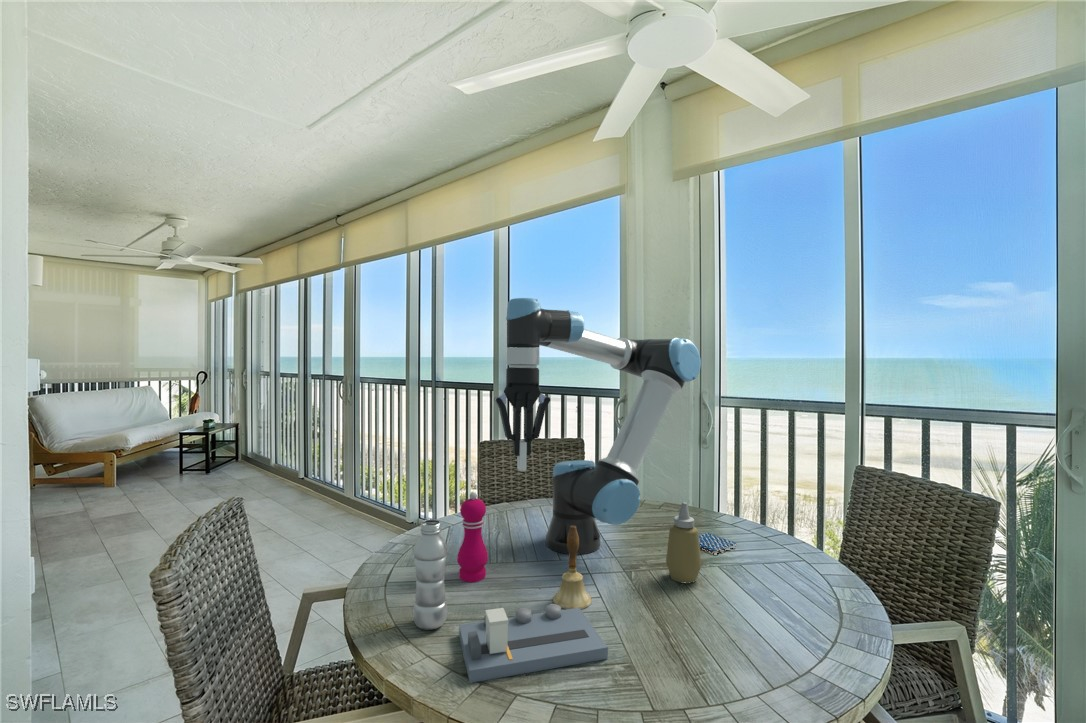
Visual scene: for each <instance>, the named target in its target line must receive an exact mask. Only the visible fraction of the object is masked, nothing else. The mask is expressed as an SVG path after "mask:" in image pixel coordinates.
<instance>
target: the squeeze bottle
mask: <svg viewBox="0 0 1086 723" xmlns="http://www.w3.org/2000/svg"><path fill="white" fill-rule="evenodd" d="M689 512H690V511H689V506H688V502H685V501H684V502H681V505H680V509H679V513H678V515H675V516H674V518H673V525H671V526H670V527H669V533H668V539H667V540H668V541H667V542H668V543H667V550H666V557H665V559H666V560H665V562H666V566H667V569H668V572H669V576H670V578H671V579H672V580H673V579H674V580H673V581H675V580H676V581H675V582H677V581H678V582H677V583H680V582H686V583H685V584H690V583H689V582H693V581H695V580H696V581H697V578H698V577H699V574H700V571H701V568H702V560H701V559H702V558H701V549H700V545H699V535H700V534H699V530H698V529H697V527H695V519H694V518H693V517H692V516H690V513H689ZM696 581H695V582H696ZM693 583H694V582H693Z"/></svg>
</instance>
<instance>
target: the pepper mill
mask: <svg viewBox="0 0 1086 723" xmlns="http://www.w3.org/2000/svg"><path fill="white" fill-rule="evenodd" d="M486 507H487V506H486V504H485V502H484V501H483V500H482V499H479V498H478V494H477V493H476V492H474V491H473V492H470V494H469V498H468V499H466V500H464V501H463V502H462V503H461V506H460V513H459V514H460V515H461V517H462V518H463V519H462V527H463V529H464V530H463V531H464V533H463V540H462V543H461V546H460V548H458V553H457V558H456V560H457V564H458V565H459V566H460V568H459V572H458V574H459V579H460V580H461V581H463V582H465V583H476V582H481V581H483V580H485V578H486V576H487V568H486V566H485V565H486V564H487V563H488V561H489V553H488V550H487V547H486V545H485V542H484V539H483V534H482V530H483V526H484V521H485V520H484V516H485V514H486V513H487V508H486Z"/></svg>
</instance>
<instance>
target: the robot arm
mask: <svg viewBox="0 0 1086 723" xmlns="http://www.w3.org/2000/svg"><path fill="white" fill-rule="evenodd" d="M505 320H506V361H505V362H506V365H507V366H508V367H507V368H506V372H505V373H506V374H505V376H506V377H505V378H506V380H505V388H504V390H503V393H501V394H500V395H499V396H495V397H494V402H495V404H496V406H497V407H498V409H499V410H498V412H499V415H500V420H501V424H502V428H503V432H504V435H505V436H504V437H505V438H506V439H507V440H509V441H512V443H513V444H512V453H513V456H514V457H516V458H517V461H516V462H517V464H516V468H517V470H518V471H519V472H526V471H527V457H528V456H530V455H531V454H532V453H531V452H532V442H533V441H534V440H535V439H539V438H540V434H541V430H542V425H543V421H544V417H545V413H546V409H547V406H548V405H549V403H550V402H551V398H550V397H549V396H546V395H545V394H543V393H542V390H541V388H540V369H539V367H537V366H539V365H540V346H542V347H545V348H546V347H547V348H549V349H553V350H557V351H562V352H565V353H568V354H572V355H576V356H579V357H583V358H587V359H590V360H594V361H598V362H601V363H605V364H609V365H610V367H611V368H612V369H615V370H618V371H621V372H624V373H628V374H631V375H634V376H636V377H639V378H642V380H643V382H642V384H641V386H640V388H639V390H638V392H637V395H636V396H635V399H634V401H633V403H632V405H631V407H630V408H629V411H628V413H627V415H626V417H625V419H624V421H623V423H622V425H621V427H620V430H619V432H618V433H617V436H616V437H615V439H614V442H613V443H612V446H611V448H610V450H609V452H608V454H607V455H606V457H604V458H601V459H598V461H597V463H596V464H595V462H594V461H593V460H585V459H584V460H583V459H579V460H566V461H565V460H564V461H561V462H560V461H559V462H557V463H555V465H553V470H552V477H551V478H552V516H551V520H550V523H549V526H548V529H547V532H546V535H545V536H546V537H545V540H546V541H545V545H546V546H547V547H548V548H549V549H551V550H552V551H554V552H558V553H560V554H561V553H563V554H568V555H569V552H568V548H567V536H568V533H569V530H570V526H576V529H577V532H578V536H579V547H578V551H577V555H583V554H589V553H593V552H595V551H597V550H599V549H600V547H601V535H600V532H599V528H598V525H597V522H596V520H597V521H599V522H600V523H605V524H608V525H612V526H619V525H622V524H625V523H628V522H629V521H630V520H631V519H632V518H633V517H634V516H635V514H636V513H637V511H638V509H639V506H640V503H641V498H640V496H641V491H640V488H639V487H638V485H639V483H640V479H639V475H638V470H639V469H640V467H641V464H642V462H643V460H644V458H645V455H646V454H647V451H648V449H649V448H650V447H649V446H651V442H652V441H653V438H654V436H655V434H656V432H657V430H658V428H659V426H660V423H661V421H662V419H663V417H664V414H665V413H666V410H667V408H668V406H669V404H670V402H671V400H672V397H673V395H677V394H680V393H681V392H682V389H683V387H684V385H685V383H688V382H689V383H690V382H692V381H694V380H695V379H697V377H699V376H698V375H699V374H700V370H701V367H702V366H701V364H702V359H701V357H700V356H701V355H700V352H699V349H698V347H697V346H696V345H695V344H694V343H693V341H692V340H690V339H687V338H679V337H674V338H655V339H651V338H650V339H631V338H628V337H627V338H626V337H622V336H621V337H619V338H615V337H611V336H607V335H606V334H602V333H599V332H595V331H592V330H588V329H585V320H584V317H583V316H582V314H581V313H580V312H578V311H573V310H568V309H567V310H562V309H544V308H541V302H540V300H539V299H537V298H531V297H518V298H511V299H510V300H509V301H508V302H507V308H506V318H505ZM506 399H507V400H506ZM507 401H508V402H509V403H510V405H511V406H512V426H511V424H510V420H509V414H508V410H507V406H506V403H507ZM537 401H538V404H537V405H538V406H537V409H536V413H535V418H534V420H533V421H532V419H533V418H532V416H533V414H532V412H533V406H534V405H535V403H536V402H537ZM522 409H523V439H524V440H523V439H522V440H521V430H522V429H521V424H522V423H521V422H522V419H521V418H522V417H521V416H522V415H521V414H522ZM532 422H533V423H532Z"/></svg>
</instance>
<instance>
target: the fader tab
mask: <svg viewBox="0 0 1086 723" xmlns="http://www.w3.org/2000/svg"><path fill="white" fill-rule="evenodd" d="M484 613H485V614H484V615H486V643H487V646H488V650H489V653H490V654H493V653H500V652H506V651H507V639H508V618H509V617H508V616H507V615H508V614H506V613H507V612H506V611H505V608H504V607H497V608H491V609H485V612H484Z"/></svg>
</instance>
